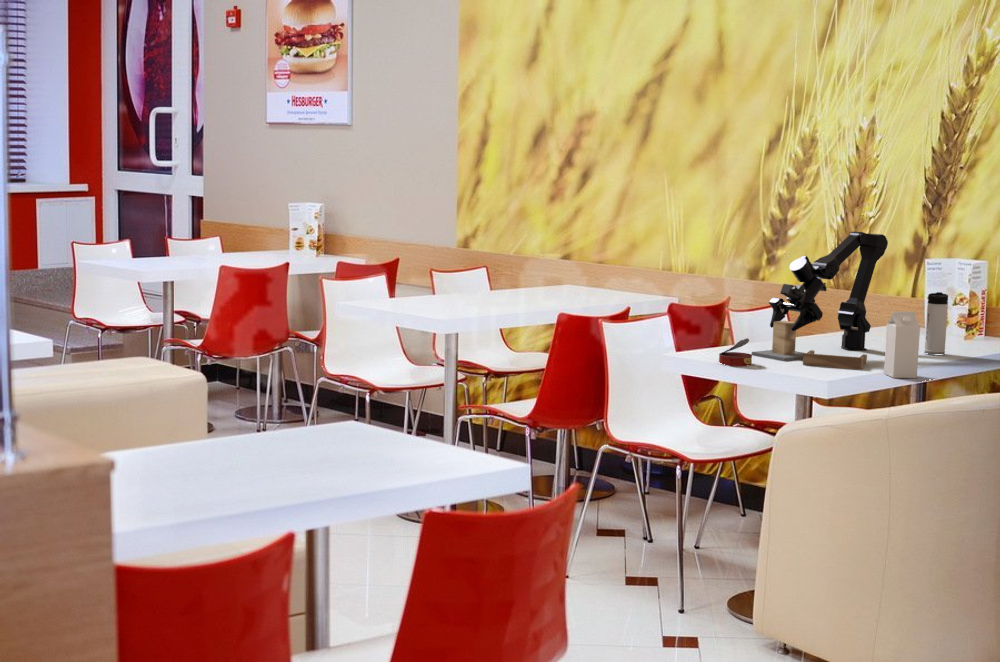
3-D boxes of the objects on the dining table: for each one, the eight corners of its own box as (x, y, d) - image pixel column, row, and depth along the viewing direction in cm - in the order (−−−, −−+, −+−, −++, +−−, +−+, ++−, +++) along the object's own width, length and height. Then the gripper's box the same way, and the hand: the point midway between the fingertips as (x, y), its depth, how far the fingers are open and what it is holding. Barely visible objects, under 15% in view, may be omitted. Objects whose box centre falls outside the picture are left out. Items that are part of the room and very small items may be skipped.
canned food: (731, 381, 387) (719, 353, 384) (719, 372, 397) (707, 345, 394) (764, 364, 388) (752, 336, 385) (751, 355, 397) (739, 328, 394)
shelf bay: (810, 359, 402) (810, 348, 401) (866, 364, 395) (867, 352, 394) (802, 364, 391) (803, 353, 391) (860, 369, 384) (861, 358, 384)
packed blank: (783, 351, 411) (784, 320, 409) (794, 353, 407) (796, 322, 405) (772, 352, 408) (773, 321, 407) (783, 354, 404) (785, 323, 402)
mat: (782, 351, 417) (782, 348, 417) (815, 357, 405) (815, 354, 405) (751, 355, 409) (751, 351, 409) (783, 361, 398) (784, 358, 398)
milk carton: (883, 374, 377) (887, 310, 374) (907, 374, 377) (911, 310, 375) (893, 378, 370) (897, 313, 367) (917, 378, 370) (921, 313, 368)
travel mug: (945, 353, 420) (949, 292, 417) (943, 356, 414) (947, 294, 411) (925, 352, 422) (929, 291, 420) (923, 354, 416) (927, 293, 414)
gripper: (774, 272, 414) (748, 308, 409) (818, 277, 398) (791, 314, 394) (790, 295, 419) (764, 331, 414) (834, 301, 404) (808, 338, 399)
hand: (781, 328), depth 405 cm, fingers open, 9 cm apart
